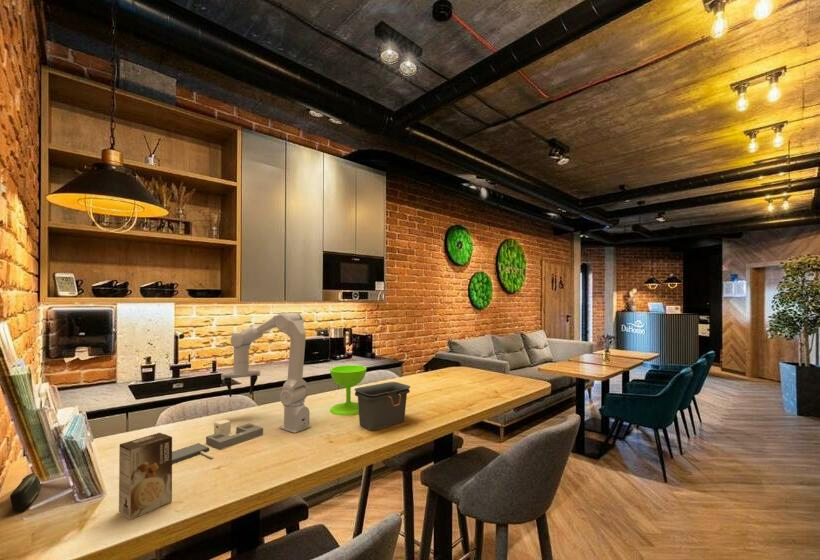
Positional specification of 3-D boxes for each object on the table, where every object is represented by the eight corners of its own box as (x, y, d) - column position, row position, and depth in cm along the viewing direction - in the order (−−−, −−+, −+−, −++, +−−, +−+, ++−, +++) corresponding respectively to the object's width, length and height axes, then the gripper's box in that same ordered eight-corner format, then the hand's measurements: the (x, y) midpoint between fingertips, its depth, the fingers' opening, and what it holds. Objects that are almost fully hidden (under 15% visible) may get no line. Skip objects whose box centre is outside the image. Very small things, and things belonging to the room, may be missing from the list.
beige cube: (230, 433, 138) (230, 421, 138) (219, 437, 134) (219, 424, 134) (224, 431, 140) (224, 419, 140) (213, 434, 137) (214, 422, 137)
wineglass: (350, 417, 155) (350, 374, 155) (322, 411, 163) (322, 370, 164) (373, 407, 168) (373, 367, 169) (346, 402, 177) (346, 364, 177)
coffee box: (159, 494, 96) (161, 431, 96) (172, 501, 92) (173, 436, 93) (117, 512, 88) (118, 443, 89) (129, 521, 85) (131, 449, 85)
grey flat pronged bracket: (220, 456, 118) (220, 452, 118) (176, 472, 108) (176, 468, 108) (198, 446, 126) (198, 442, 126) (155, 460, 115) (155, 456, 115)
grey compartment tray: (263, 434, 136) (263, 427, 137) (220, 449, 123) (220, 442, 123) (248, 429, 141) (248, 422, 142) (205, 443, 128) (206, 436, 128)
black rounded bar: (10, 515, 87) (34, 487, 100) (27, 509, 88) (49, 482, 101) (6, 495, 87) (30, 469, 100) (23, 489, 88) (45, 465, 101)
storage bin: (392, 413, 160) (392, 380, 160) (417, 423, 148) (417, 386, 148) (350, 425, 145) (350, 388, 146) (374, 437, 134) (374, 396, 134)
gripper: (259, 358, 161) (258, 390, 160) (221, 361, 154) (220, 395, 154) (260, 361, 155) (260, 394, 154) (221, 364, 148) (221, 399, 147)
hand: (240, 395), depth 153 cm, fingers open, 7 cm apart
